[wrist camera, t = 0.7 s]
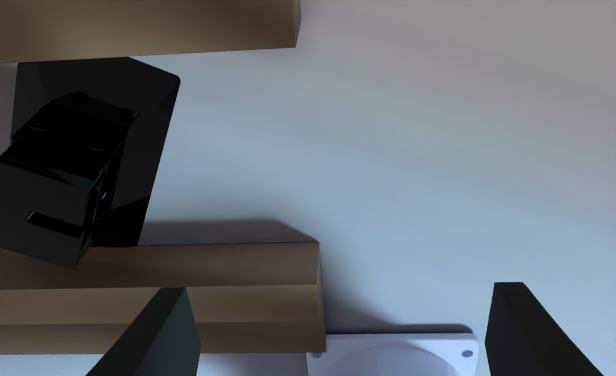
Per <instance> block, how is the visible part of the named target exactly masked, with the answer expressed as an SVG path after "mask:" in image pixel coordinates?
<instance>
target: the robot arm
mask: <svg viewBox="0 0 616 376" xmlns="http://www.w3.org/2000/svg"><path fill="white" fill-rule="evenodd" d="M485 347H486V353H487V358H488V364H489V369H490V374H491V376H604V375H603V374H602V373H601V372H600V371H599V370H598V369H597V368H596V367H595V366H594V365H593V364H592V363H591V362H590V361H589V359H588V358H587V357H586V356H585V355H584V354H583V353H582V352H581V351H580V349H579V348H578V347H577V346H576V345H575V344H574V343H573V342H572V341H571V339H570V338H569V337H568V336H567V335H566V334H565V333H564V331H563V330H562V329H561V328H560V327H559V325H558V324H557V323H556V322H555V321H554V319H553V318H552V317H551V316H550V315H549V313H548V312H547V311H546V310H545V309H544V307H543V306H542V305H541V304H540V302H539V301H538V300H537V299H536V297H535V296H534V295H533V294H532V292H531V291H530V290H529V289H528V287H527V286H526V285H525V284H524V283H523V282H495V283H494V290H493V296H492V302H491V308H490V314H489V320H488V326H487V332H486V338H485ZM326 349H327V351H326V353H306V358H307V367H308V376H475V370H476V364H477V357H478V351H479V342H478V338H477V337H476V335H474V334H470V333H431V334H326ZM200 350H201V342H200V338H199V334H198V331H197V327H196V323H195V320H194V316H193V312H192V309H191V305H190V301H189V298H188V294H187V290H186V287H161V288H160V289H159V290H158V291H157V292H156V293H155V295H154V296H153V297H152V298H151V300H150V301H149V302H148V303H147V304H146V306H145V307H144V308H143V309H142V311H141V312H140V313H139V314H138V316H137V317H136V318H135V319H134V320H133V322H132V323H131V324H130V325H129V327H128V328H127V329H126V330H125V331H124V333H123V334H122V335H121V336H120V337H119V338H118V340H117V341H116V342H115V343H114V344H113V345H112V347H111V348H110V349H109V350H108V351H107V352H106V353H105V355H104V356H103V357H102V358H101V359H100V360H99V361H98V363H97V364H96V365H95V366H94V367H93V368H92V369H91V370H90V371H89V372H88V373H87V374H86V375H85V376H196V373H197V368H198V362H199V356H200ZM465 350H466V351H465Z"/></svg>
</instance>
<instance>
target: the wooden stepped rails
mask: <svg viewBox="0 0 616 376" xmlns="http://www.w3.org/2000/svg"><path fill="white" fill-rule="evenodd" d="M300 24H301V11H300V0H0V63H17V62H36V61H54V60H73V59H91V58H110V57H128V56H146V55H165V54H183V53H202V52H220V51H239V50H257V49H275V48H294V47H296V44H297V39H298V34H299V29H300ZM161 287H186V290H187V294H188V298H189V301H190V305H191V309H192V312H193V316H194V320H195V323H196V327H197V331H198V334H199V338H200V342H201V350H200V353H326V351H327V349H326V322H325V310H324V297H323V285H322V273H321V260H320V248H319V242H298V243H256V244H213V245H171V246H132V247H127V248H110V247H90V248H89V250H88V251H87V253H86V255H85V256H84V258H81V259H80V261H79V263H78V264H77V266H76V268H75V269H74V270H72V269H68V268H65V267H62V266H58V265H55V264H52V263H48V262H45V261H42V260H38V259H35V258H32V257H28V256H25V255H22V254H18V253H15V252H12V251H9V250H5V249H1V250H0V354H1V355H17V354H105V353H106V352H107V351H108V350H109V349H110V348H111V347H112V345H113V344H114V343H115V342H116V341H117V340H118V338H119V337H120V336H121V335H122V334H123V333H124V331H125V330H126V329H127V328H128V327H129V325H130V324H131V323H132V322H133V320H134V319H135V318H136V317H137V316H138V314H139V313H140V312H141V311H142V309H143V308H144V307H145V306H146V304H147V303H148V302H149V301H150V300H151V298H152V297H153V296H154V295H155V293H156V292H157V291H158V290H159V289H160V288H161Z"/></svg>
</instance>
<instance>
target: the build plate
mask: <svg viewBox="0 0 616 376" xmlns="http://www.w3.org/2000/svg"><path fill="white" fill-rule="evenodd" d="M180 82H181V81H180V78H179V77H178V76H177V75H174V74H172V73H169V72H166V71H164V70H161V69H159V68H156V67H153V66H151V65H148V64H146V63H143V62H140V61H138V60H135V59H133V58H130V57H110V58H91V59H73V60H54V61H36V62H18V66H17V77H16V88H15V98H14V109H13V120H12V131H11V140H10V146H9V147H8V148H7V149H6V150H5V151H4V152H3V153H2V154H1V155H0V248H2V249H5V250H9V251H12V252H15V253H18V254H22V255H25V256H28V257H32V258H35V259H38V260H42V261H45V262H48V263H52V264H55V265H58V266H62V267H65V268H68V269H72V270H74V269H75V268H76V266H77V264H78V263H79V261H80V259H81V258H84V256H85V255H86V253H87V251H88V250H89V248H90V247H110V248H127V247H132V246H138V242H139V238H140V234H141V230H142V227H143V223H144V219H145V215H146V211H147V208H148V204H149V200H150V196H151V192H152V189H153V185H154V181H155V177H156V173H157V170H158V166H159V162H160V158H161V154H162V151H163V147H164V143H165V139H166V135H167V132H168V128H169V124H170V120H171V116H172V113H173V109H174V105H175V101H176V97H177V94H178V90H179V86H180Z"/></svg>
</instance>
